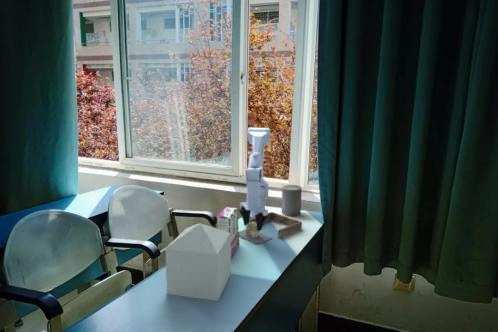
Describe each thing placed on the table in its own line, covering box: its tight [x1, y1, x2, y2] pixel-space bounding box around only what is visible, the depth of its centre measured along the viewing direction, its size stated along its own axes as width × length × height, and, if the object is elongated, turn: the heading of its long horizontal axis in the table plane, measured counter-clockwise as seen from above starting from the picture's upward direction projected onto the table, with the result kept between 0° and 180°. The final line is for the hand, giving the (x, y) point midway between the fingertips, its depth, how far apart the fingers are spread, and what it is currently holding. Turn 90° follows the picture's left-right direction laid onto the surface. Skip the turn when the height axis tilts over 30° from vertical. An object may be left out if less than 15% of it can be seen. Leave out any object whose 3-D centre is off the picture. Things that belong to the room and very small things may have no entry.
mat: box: [238, 228, 273, 245], centre depth 146 cm, size 14×9×1 cm, turn 45°
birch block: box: [245, 222, 261, 238], centre depth 146 cm, size 4×4×5 cm
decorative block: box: [165, 222, 232, 302], centre depth 107 cm, size 16×16×20 cm
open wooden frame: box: [249, 211, 303, 239], centre depth 156 cm, size 18×15×4 cm
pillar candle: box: [281, 184, 302, 217], centre depth 175 cm, size 10×10×15 cm
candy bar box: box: [216, 206, 238, 259], centre depth 129 cm, size 11×5×16 cm, turn 168°
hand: (252, 227), depth 146 cm, fingers open, 7 cm apart
